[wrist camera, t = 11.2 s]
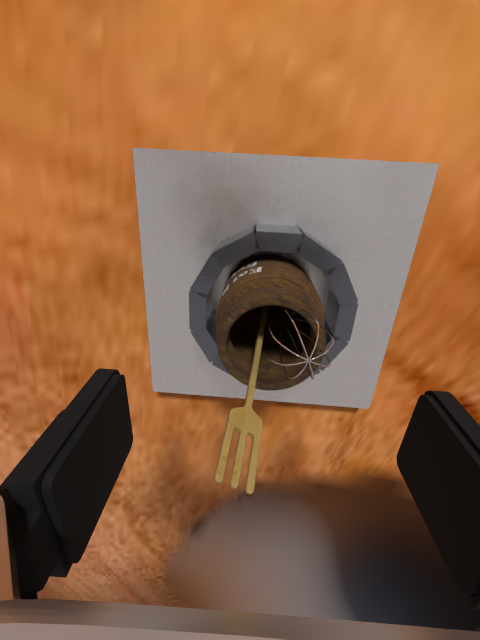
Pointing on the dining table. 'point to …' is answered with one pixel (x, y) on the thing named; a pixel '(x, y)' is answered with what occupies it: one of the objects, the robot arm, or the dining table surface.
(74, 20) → the dining table surface
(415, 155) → the dining table surface
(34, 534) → the robot arm
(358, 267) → the collar stand
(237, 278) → the utensil holder
